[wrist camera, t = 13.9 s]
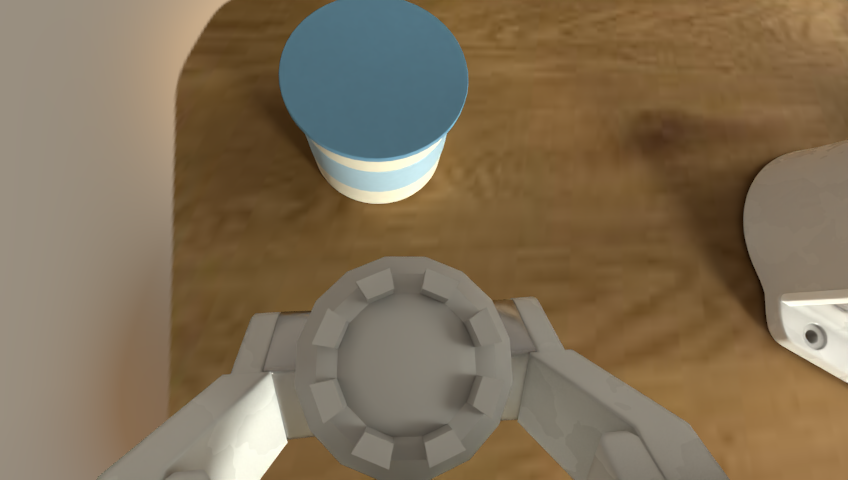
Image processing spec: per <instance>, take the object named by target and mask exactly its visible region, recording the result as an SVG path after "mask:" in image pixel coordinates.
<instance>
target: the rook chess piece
mask: <svg viewBox="0 0 848 480" xmlns="http://www.w3.org/2000/svg"><path fill="white" fill-rule="evenodd" d="M512 382H513V381H512V365H511V350H510V338H509V336H508V334H507V331H506V329H505V327H504V325H503V323H502V321H501V318H500V316H499V314H498V312H497V310H496V308H495V305H494V303H493V301H492V300H491V299H490V298H489V297H488V296H487V295H486V294H485V293H484V292H483V291H482V290H481V289H480V288H479V287H478V286H477V285H476V284H475V283H474V282H473V281H472V280H470V279H469V278H468V277H467V276H466V275H465V274H464V273H463V272H462V271H459V270H457V269H454V268H452V267H449V266H447V265H444V264H442V263H439V262H437V261H435V260H432V259H430V258H427V257H383V258H381V259H378V260H376V261H373V262H371V263H368V264H366V265H363V266H360V267H358V268H355V269H353V270H350V271H348V272H346V273H345V274H344V275H343V276H342V277H341V278H340V279H339V280H338V281H337V282H336V283H335V284H334V285H333V286H332V287H330V288H329V289H328V290H327V291H326V292H325V293H324V294H323V295H322V296H321V297H320V298H319V299H318V300H317V301H316V302H315V304H314V307H313V309H312V311H311V313H310V315H309V317H308V319H307V322H306V324H305V326H304V328H303V330H302V332H301V334H300V336H299V339H298V341H297V355H296V372H295V389H296V392H297V395H298V398H299V400H300V403H301V406H302V409H303V412H304V415H305V418H306V421H307V424H308V427H309V429H310V431H311V432H312V433H313V434H314V435H315V436H316V437H317V439H318V440H319V441H320V442H321V443H322V444H323V445H324V446H325V447H326V448H327V449H328V450H329V452H330V453H331V454H332V455H333V456H334V457H335V458H336V459H337V460H338V461H339V462H340V464H342V465H344V466H347V467H349V468H352V469H354V470H356V471H359V472H361V473H363V474H366V475H368V476H371V477H373V478H375V479H378V480H430V479H432V478H434V477H436V476H438V475H440V474H442V473H444V472H446V471H448V470H450V469H452V468H454V467H456V466H458V465H460V464H462V463H464V462H466V461H468V460H470V459H471V457H472V456H473V455H474V454H475V453H476V451H477V450H478V449H479V448H480V447H481V445H482V444H483V443H484V442H485V441H486V440H487V438H488V437H489V436H490V435H491V434H492V432H493V431H494V430H495V429H496V428H497V426H498V425H499V423H500V420H501V417H502V413H503V410H504V407H505V404H506V401H507V398H508V395H509V392H510V388H511V385H512Z"/></svg>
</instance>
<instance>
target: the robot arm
mask: <svg viewBox="0 0 848 480" xmlns="http://www.w3.org/2000/svg"><path fill="white" fill-rule="evenodd" d="M743 227H744V236H745V241H746V246H747V249H748V253H749V256H750V259H751V261H752V264H753V266H754V268H755V270H756V273H757V275H758V277H759V279H760V282H761V284H762V287H763V290H764V293H765V308H766V319H767V325H768V328H769V331H770V334H771V336H772V337H773V338H774V340H775V341H776V342H777V343H779V344H780V345H782V346H783V347H785V348H787V349H788V350H790V351H792V352H794V353H796V354H797V355H799V356H801V357H803V358H804V359H806V360H808V361H810V362H811V363H813V364H815V365H817V366H818V367H820V368H822V369H824V370H825V371H827V372H829V373H831V374H832V375H834V376H836V377H838V378H840V379H841V380H843V381H845V382H847V383H848V139H847V140H844V141H841V142H837V143H833V144H829V145H825V146H821V147H816V148H811V149H805V150H799V151H794V152H790V153H787V154H784V155H782V156H780V157H778V158H776V159H774V160H773V161H771V162H770V163H768V164H767V165H766V166H765V167H764V168H763V169H762V170H761V171H760V172H759V173H758V175H757V176H756V177H755V179H754V181H753V182H752V184H751V186H750V188H749V191H748V193H747V197H746V200H745V205H744V214H743ZM492 301H493V303H494V305H495V308H496V310H497V312H498V314H499V316H500V318H501V321H502V323H503V325H504V327H505V329H506V331H507V334H508V336H509V338H510V350H511V365H512V381H513V382H512V385H511V388H510V392H509V395H508V398H507V401H506V404H505V407H504V410H503V413H502V417H501V420H518V422H519V423H520V424H521V426H522V427H523V428H524V429H525V430H526V431H527V432H528V433H529V434H530V435H531V436H532V437H533V438H534V439H535V440H536V441H537V442H538V443H539V444H540V445H541V446H542V447H543V448H544V449H545V450H546V451H547V452H548V453H549V454H550V455H551V456H552V457H553V458H554V460H555V461H556V462H557V463H558V464H559V465H560V466H561V467H562V468H563V469H564V470H565V471H566V472H567V473H568V474H569V475H570V476H571V477H572V478H573V479H574V480H729V478H728V477H727V475H726V474H725V473H724V471H723V470H722V469H721V467H720V466H719V464H718V463H717V462H716V460H715V459H714V458H713V456H712V455H711V453H710V452H709V451H708V449H707V448H706V447H705V445H704V444H703V442H702V441H701V440H700V438H699V437H698V436H697V434H696V433H695V431H694V430H693V429H692V427H691V426H690V424H689V423H687V422H686V421H684V420H683V419H681V418H679V417H678V416H676V415H675V414H673V413H672V412H670V411H668V410H667V409H665V408H664V407H662V406H660V405H659V404H657V403H656V402H654V401H653V400H651V399H649V398H648V397H646V396H645V395H643V394H642V393H640V392H638V391H637V390H635V389H634V388H632V387H630V386H629V385H627V384H626V383H624V382H623V381H621V380H619V379H618V378H616V377H615V376H613V375H612V374H610V373H608V372H607V371H605V370H604V369H602V368H600V367H599V366H597V365H596V364H594V363H593V362H591V361H589V360H588V359H586V358H585V357H583V356H582V355H580V354H578V353H577V352H575V351H574V350H565V349H564V347H563V345H562V343H561V342H560V340H559V338H558V336H557V334H556V332H555V331H554V329H553V327H552V325H551V323H550V321H549V320H548V318H547V316H546V314H545V312H544V310H543V309H542V307H541V305H540V303H539V301H538V299H537V298H535V297H534V296H533V297H521V298H511V299H504V300H492ZM310 313H311V311H290V312H281V313H280V312H273V313H256V314H255V315H254V316H253V317H252V318H251V320H250V322H249V325H248V328H247V331H246V333H245V336H244V339H243V341H242V344H241V347H240V350H239V352H238V355H237V358H236V360H235V363H234V366H233V369H232V371H231V374H228V375H222V376H220V377H219V378H218V379H217V380H216V381H214V382H213V383H212V384H211V385H209V386H208V387H207V388H206V389H205V390H203V391H202V392H201V393H200V394H198V395H197V396H196V397H195V398H194V399H192V400H191V401H190V402H189V403H187V404H186V405H185V406H184V407H183V408H181V409H180V410H179V411H178V412H176V413H175V414H174V415H173V416H172V417H170V418H169V419H168V420H167V421H165V422H164V423H163V424H162V425H161V426H159V427H158V428H157V429H156V430H155V431H153V432H152V433H151V434H150V435H148V436H147V437H146V438H145V439H143V440H142V441H141V442H140V443H139V444H137V445H136V446H135V447H134V448H132V449H131V450H130V451H129V452H128V453H126V454H125V455H124V456H123V457H121V458H120V459H119V460H118V461H117V462H115V463H114V464H113V465H112V466H110V467H109V468H108V469H107V470H106V471H104V473H102V474H101V475H100V476H98V478H97V480H260V479H261V477H262V476H263V475H264V473H265V472H266V471H267V469H268V468H269V467H270V465H271V464H272V462H273V461H274V460H275V458H276V457H277V456H278V454H279V453H280V452H281V450H282V449H283V448H284V446H285V445H286V444H287V440H289V439H297V438H306V437H315V435H314V434H313V433H312V432H311V431H310V429H309V427H308V424H307V421H306V418H305V415H304V412H303V409H302V406H301V403H300V400H299V398H298V395H297V392H296V389H295V372H296V355H297V341H298V339H299V336H300V334H301V332H302V330H303V328H304V326H305V324H306V322H307V319H308V317H309V315H310ZM805 334H806V335H807V338H808V339H806V336H805ZM501 420H500V421H501Z"/></svg>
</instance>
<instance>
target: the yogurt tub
mask: <svg viewBox="0 0 848 480" xmlns="http://www.w3.org/2000/svg"><path fill="white" fill-rule="evenodd" d="M279 85H280V90H281V95H282V98H283V100H284V103H285V105H286V108H287V110H288V112H289V114H290V115H291V117H292V119H293V120H294V122H295V123H296V124H297V126H298V127H299V128H300V129H301V130H302V131H303V132H304V133H305V135H306V137H307V140H308V143H309V146H310V148H311V151H312V153H313V155H314V157H315V160H316V163H317V165H318V168H319V170H320V172H321V173H322V175H323V176H324V178H325V179H326V180H327V182H328V183H329V184H330V185H331V186H332V187H333V188H335V189H336V190H337V191H339V192H340V193H342V194H343V195H345V196H347V197H349V198H352V199H354V200H357V201H361V202H365V203H372V204H383V203H391V202H396V201H399V200H402V199H405V198H407V197H409V196H411V195H413V194H414V193H416V192H417V191H418V190H420V189H421V188H422V187H423V186H424V185H425V184H426V183H427V182H428V181H429V179H430V178H431V177H432V175H433V173H434V172H435V170H436V167H437V165H438V161H439V158H440V154H441V152H442V150H443V146H444V143H445V139H446V135H447V133H448V131H449V130H450V129H451V128H452V127H453V125H454V124H455V122H456V121H457V119H458V117H459V115H460V113H461V111H462V109H463V106H464V103H465V99H466V96H467V90H468V70H467V65H466V61H465V58H464V55H463V52H462V50H461V48H460V46H459V44H458V42H457V40H456V39H455V37H454V36H453V34H452V33H451V32H450V31H449V29H448V28H447V27H446V26H445V25H444V24H443V23H442V22H441V21H440V20H438V19H437V18H436V17H435V16H433V15H432V14H431V13H429V12H428V11H426V10H424V9H422V8H420V7H419V6H417V5H414V4H412V3H409V2H407V1H404V0H337V1H335V2H332V3H329V4H327V5H325V6H323V7H321V8H319V9H318V10H316V11H315V12H313V13H312V14H310V15H309V16H307V17H306V18H305V19H304V20H303V21H302V22H301V23H300V24H299V25H298V26H297V27H296V29H295V30H294V31H293V32H292V34H291V36H290V37H289V39H288V40H287V42H286V45H285V47H284V49H283V52H282V56H281V59H280V65H279Z"/></svg>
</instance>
